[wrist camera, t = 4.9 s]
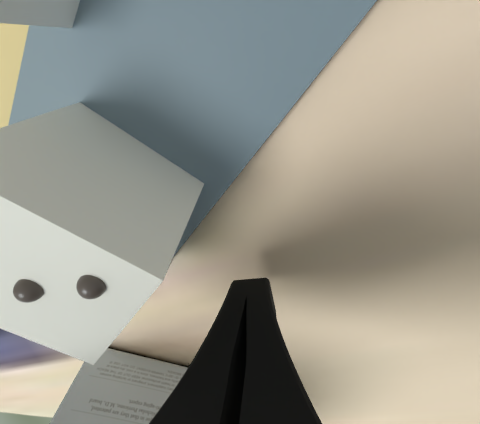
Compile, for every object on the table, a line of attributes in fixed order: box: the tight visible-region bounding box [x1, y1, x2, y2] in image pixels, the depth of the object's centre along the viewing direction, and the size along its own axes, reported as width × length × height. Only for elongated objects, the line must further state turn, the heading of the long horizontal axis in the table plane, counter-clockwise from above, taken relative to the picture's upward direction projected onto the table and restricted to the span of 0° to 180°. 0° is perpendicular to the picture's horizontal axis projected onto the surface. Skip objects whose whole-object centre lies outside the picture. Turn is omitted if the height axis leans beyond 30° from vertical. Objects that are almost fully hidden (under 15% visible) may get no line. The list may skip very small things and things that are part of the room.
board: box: [0, 0, 377, 257], centre depth 8 cm, size 13×16×1 cm
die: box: [0, 102, 204, 365], centre depth 8 cm, size 4×4×5 cm
